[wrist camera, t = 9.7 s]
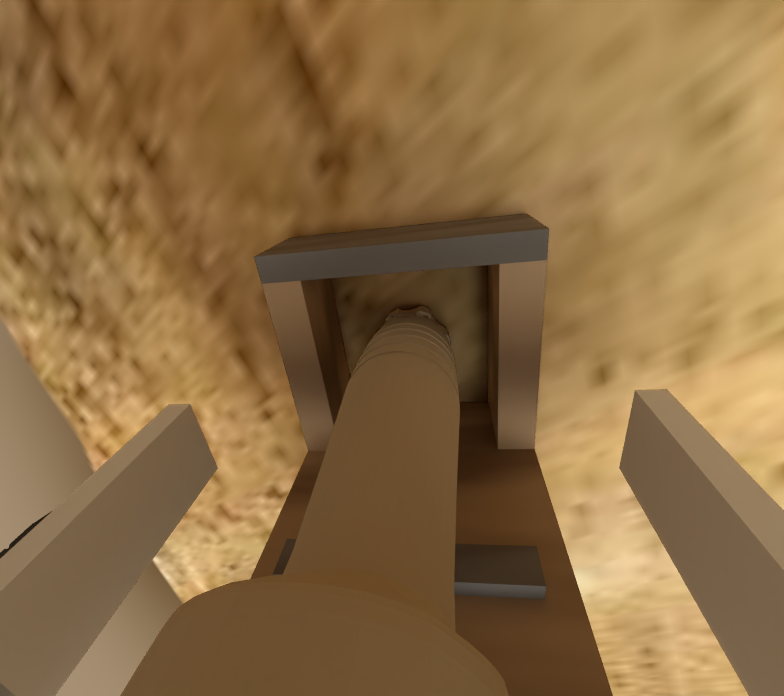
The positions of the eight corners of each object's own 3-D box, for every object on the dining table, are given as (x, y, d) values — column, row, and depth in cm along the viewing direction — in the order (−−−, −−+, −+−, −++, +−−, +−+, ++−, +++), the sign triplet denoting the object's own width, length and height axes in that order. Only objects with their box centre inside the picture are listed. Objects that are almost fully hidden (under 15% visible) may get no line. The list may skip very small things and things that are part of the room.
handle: (377, 395, 20) (235, 887, 6) (351, 276, 17) (6, 693, 4) (471, 387, 19) (536, 944, 5) (458, 260, 16) (526, 743, 3)
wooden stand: (289, 238, 16) (13, 386, 6) (526, 213, 15) (738, 355, 4) (344, 474, 23) (258, 755, 12) (516, 474, 21) (591, 797, 10)
